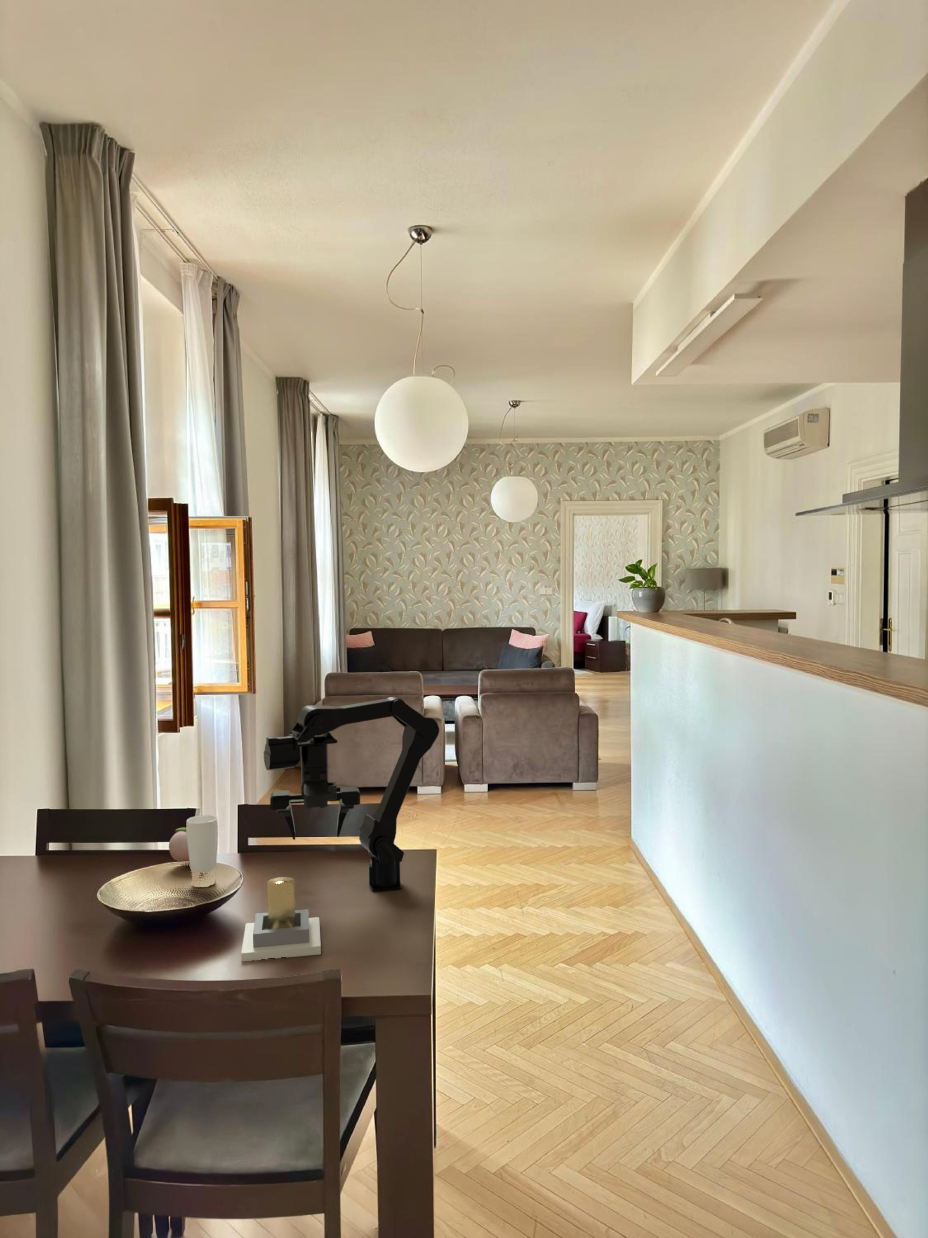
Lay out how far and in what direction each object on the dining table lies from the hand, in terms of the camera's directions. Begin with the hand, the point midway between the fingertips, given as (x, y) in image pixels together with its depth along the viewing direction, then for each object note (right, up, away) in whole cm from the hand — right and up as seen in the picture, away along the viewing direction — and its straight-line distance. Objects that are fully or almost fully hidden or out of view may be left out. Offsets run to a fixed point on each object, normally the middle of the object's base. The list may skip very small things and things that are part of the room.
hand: (316, 837), depth 185 cm
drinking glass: (-27, -13, +10) cm, 32 cm away
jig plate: (-3, -14, -22) cm, 26 cm away
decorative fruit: (-35, -13, +23) cm, 43 cm away
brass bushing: (-3, -12, -22) cm, 26 cm away
